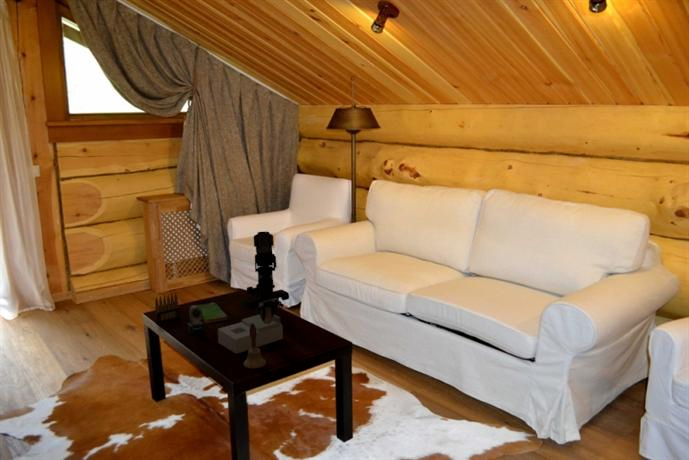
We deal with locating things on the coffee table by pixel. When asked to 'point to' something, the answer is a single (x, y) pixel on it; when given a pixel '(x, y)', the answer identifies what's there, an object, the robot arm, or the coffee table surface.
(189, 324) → the watch
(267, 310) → the brown rounded cylinder
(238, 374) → the coffee table surface
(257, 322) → the lid
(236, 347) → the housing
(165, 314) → the ammunition clip
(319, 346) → the coffee table surface
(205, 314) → the game box
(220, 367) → the coffee table surface
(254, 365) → the hand bell
